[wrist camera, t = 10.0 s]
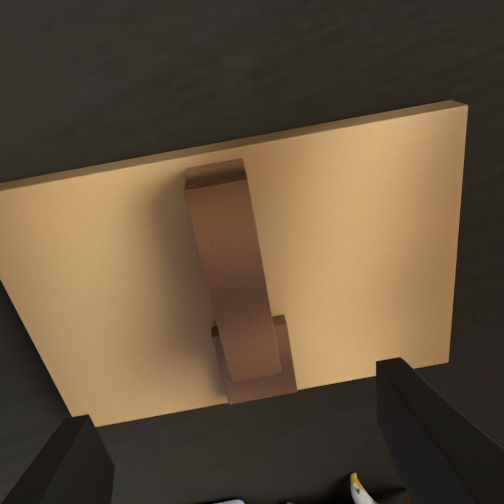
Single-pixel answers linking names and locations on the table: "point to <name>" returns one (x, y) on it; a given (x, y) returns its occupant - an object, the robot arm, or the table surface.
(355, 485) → the eagle figurine
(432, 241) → the board
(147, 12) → the table surface
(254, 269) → the wooden stepped block
